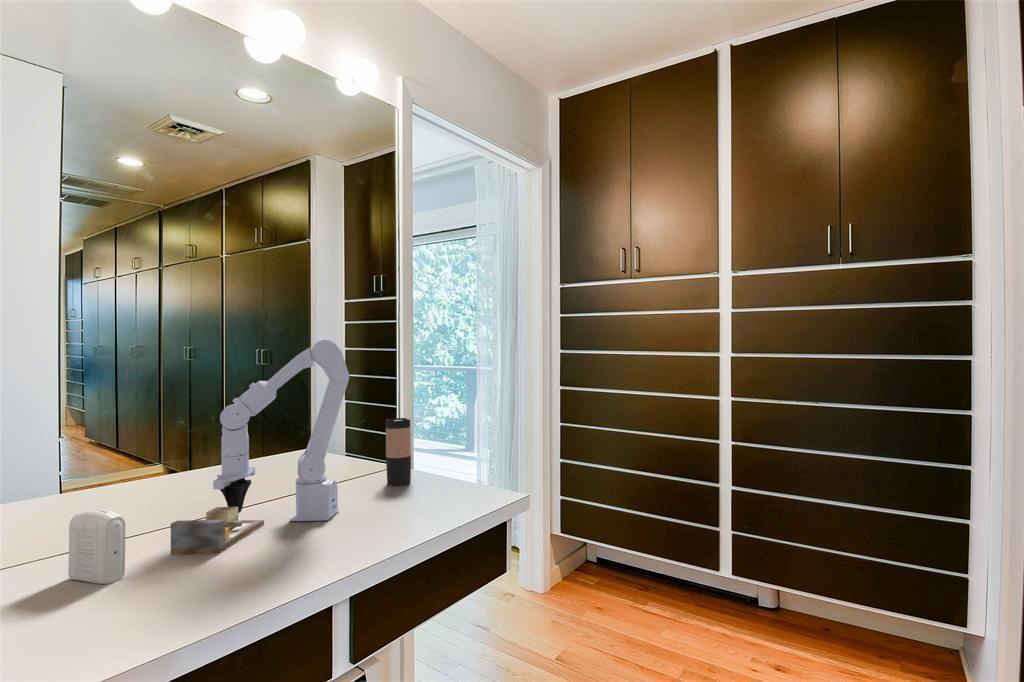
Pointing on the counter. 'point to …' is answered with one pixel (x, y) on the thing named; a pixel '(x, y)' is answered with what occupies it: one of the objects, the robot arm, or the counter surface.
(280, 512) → the counter surface
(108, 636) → the counter surface
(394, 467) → the travel mug
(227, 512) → the tan rectangular block
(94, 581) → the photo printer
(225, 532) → the block
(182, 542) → the base
